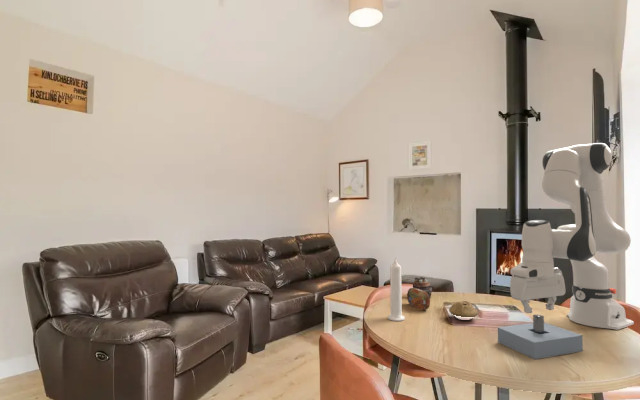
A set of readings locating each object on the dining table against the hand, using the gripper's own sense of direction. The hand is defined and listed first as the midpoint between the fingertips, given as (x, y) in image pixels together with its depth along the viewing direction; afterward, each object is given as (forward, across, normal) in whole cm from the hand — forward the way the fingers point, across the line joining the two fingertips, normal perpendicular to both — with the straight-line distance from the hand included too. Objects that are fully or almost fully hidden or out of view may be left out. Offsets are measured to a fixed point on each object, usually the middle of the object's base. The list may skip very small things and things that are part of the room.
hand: (539, 311), depth 113 cm
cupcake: (+12, 0, -67) cm, 68 cm away
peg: (+12, +1, 0) cm, 12 cm away
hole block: (+12, +1, 0) cm, 12 cm away
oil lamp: (+12, +3, -32) cm, 34 cm away
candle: (+11, +30, -40) cm, 52 cm away
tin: (+12, +12, -51) cm, 54 cm away
